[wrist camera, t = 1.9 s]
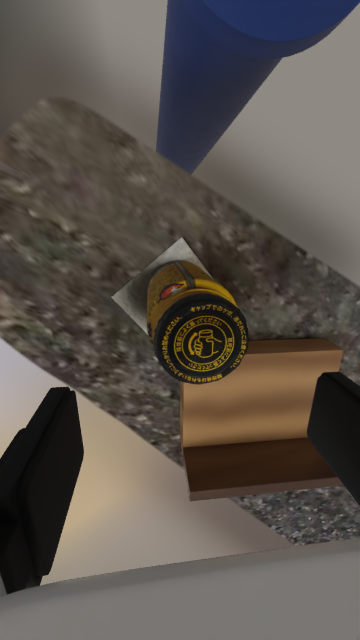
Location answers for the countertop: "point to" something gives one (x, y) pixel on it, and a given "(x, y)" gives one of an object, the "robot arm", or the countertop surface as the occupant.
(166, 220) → the countertop surface
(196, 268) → the condiment
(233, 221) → the countertop surface
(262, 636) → the robot arm
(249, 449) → the shelf
